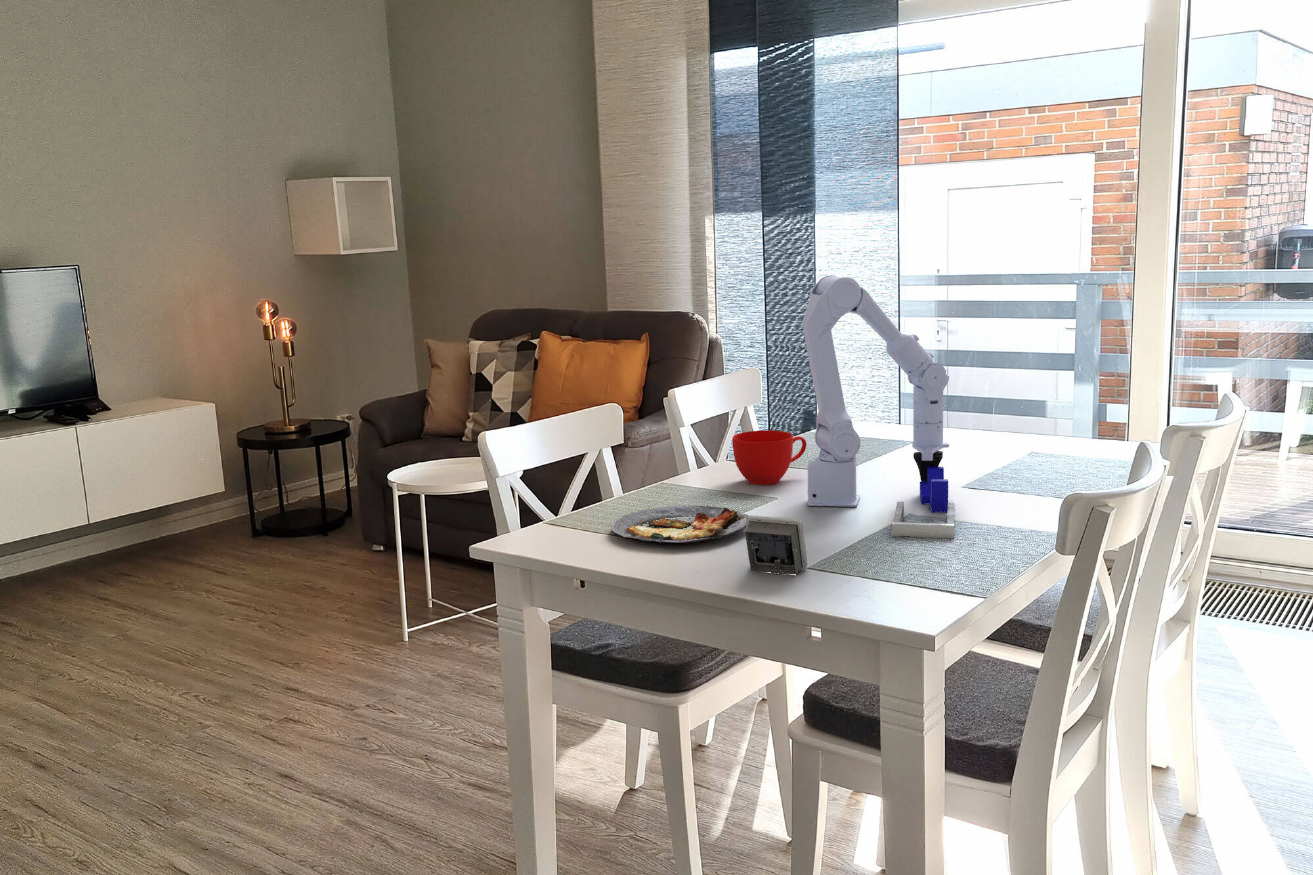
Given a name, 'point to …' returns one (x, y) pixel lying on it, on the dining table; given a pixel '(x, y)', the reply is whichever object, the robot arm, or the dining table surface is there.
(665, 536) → the food plate
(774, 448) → the ceramic cup
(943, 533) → the rail bracket
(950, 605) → the dining table surface
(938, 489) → the blue stepped block
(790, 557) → the electrical switch
